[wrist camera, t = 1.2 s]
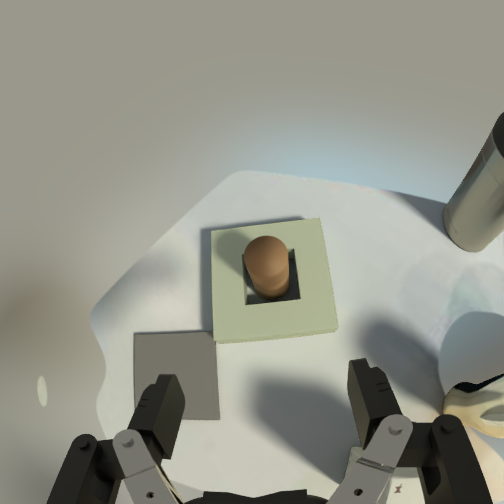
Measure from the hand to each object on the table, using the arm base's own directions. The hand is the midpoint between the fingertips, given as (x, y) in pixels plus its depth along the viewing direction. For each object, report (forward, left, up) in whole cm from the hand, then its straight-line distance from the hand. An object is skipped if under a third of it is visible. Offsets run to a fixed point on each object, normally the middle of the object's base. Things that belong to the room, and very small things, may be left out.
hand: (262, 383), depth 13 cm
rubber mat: (+13, -1, -22) cm, 26 cm away
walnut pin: (0, -12, -22) cm, 26 cm away
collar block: (0, -12, -22) cm, 26 cm away
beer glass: (-23, +8, -23) cm, 33 cm away
